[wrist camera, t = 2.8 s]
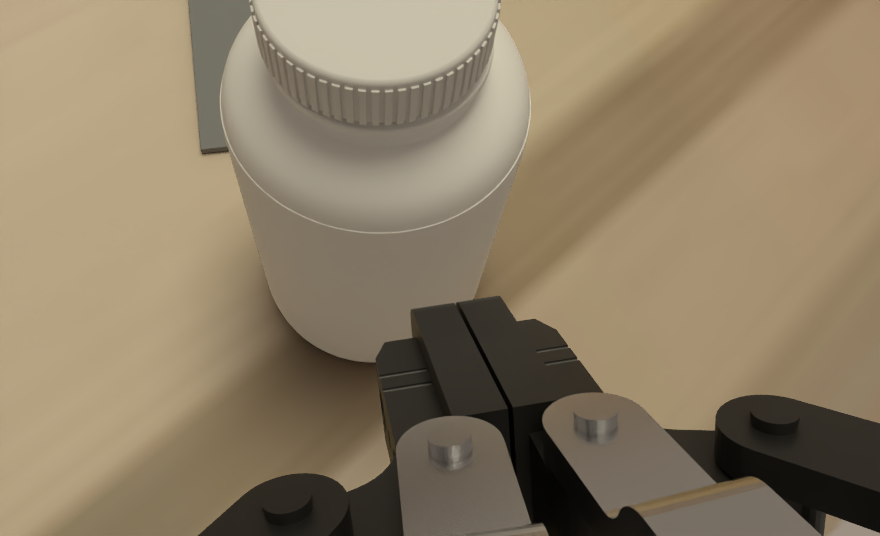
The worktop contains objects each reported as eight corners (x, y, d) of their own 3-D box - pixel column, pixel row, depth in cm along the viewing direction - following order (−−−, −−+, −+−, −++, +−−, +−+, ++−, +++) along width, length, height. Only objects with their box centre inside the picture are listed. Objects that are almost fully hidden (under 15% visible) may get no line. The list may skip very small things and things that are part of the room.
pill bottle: (331, 410, 28) (291, 202, 14) (233, 230, 30) (118, -92, 17) (520, 307, 30) (640, 40, 16) (413, 147, 33) (441, -199, 19)
